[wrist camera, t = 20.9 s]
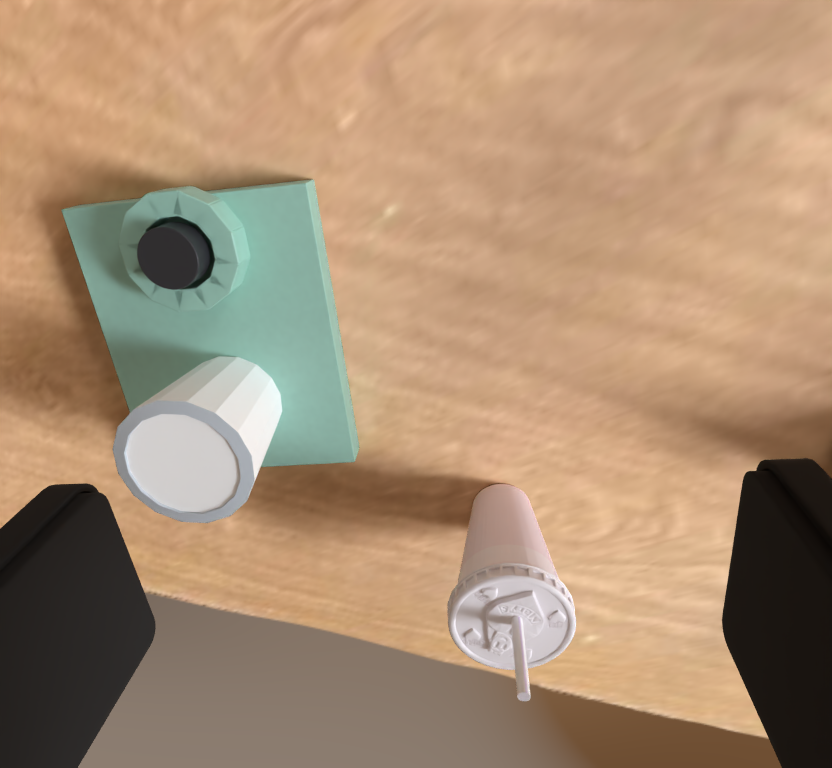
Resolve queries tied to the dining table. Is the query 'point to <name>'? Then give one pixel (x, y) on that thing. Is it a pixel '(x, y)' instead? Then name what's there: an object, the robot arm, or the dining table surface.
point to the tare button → (173, 255)
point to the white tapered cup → (200, 440)
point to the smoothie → (509, 589)
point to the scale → (227, 304)
